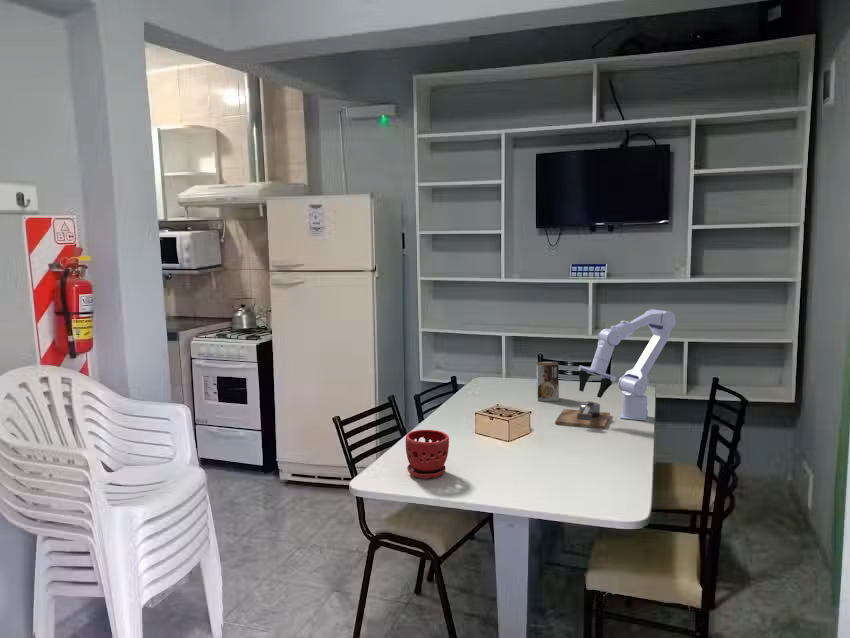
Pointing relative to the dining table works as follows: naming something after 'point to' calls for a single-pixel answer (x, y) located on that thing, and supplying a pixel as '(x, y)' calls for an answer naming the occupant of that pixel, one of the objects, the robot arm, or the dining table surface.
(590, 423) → the board
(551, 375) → the brown rectangular box
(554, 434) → the dining table surface
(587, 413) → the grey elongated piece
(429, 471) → the plant pot
